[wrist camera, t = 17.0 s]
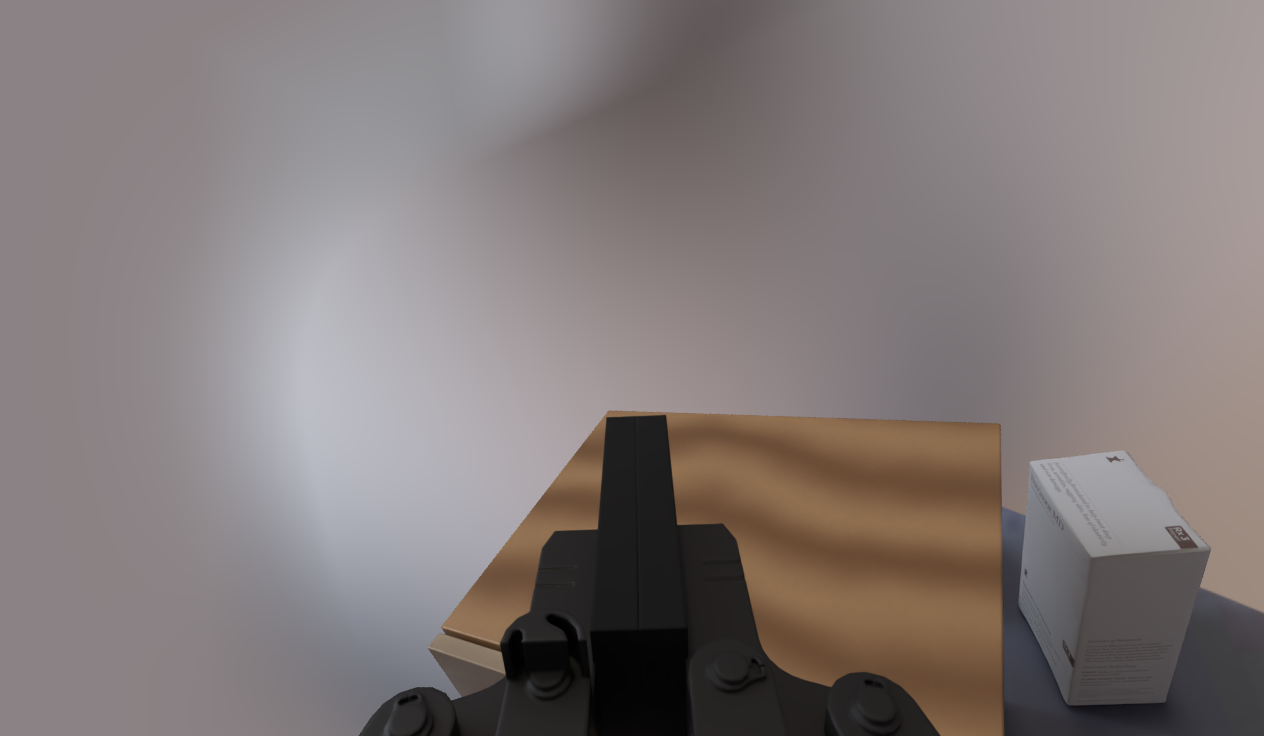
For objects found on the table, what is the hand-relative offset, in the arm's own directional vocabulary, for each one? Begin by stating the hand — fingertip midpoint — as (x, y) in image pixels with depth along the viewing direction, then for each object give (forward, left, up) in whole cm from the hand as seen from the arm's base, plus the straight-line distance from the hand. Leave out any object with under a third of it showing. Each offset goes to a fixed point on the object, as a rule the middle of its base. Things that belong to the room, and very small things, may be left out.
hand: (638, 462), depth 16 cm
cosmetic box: (-13, -24, -36) cm, 45 cm away
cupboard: (+4, -10, -36) cm, 38 cm away
